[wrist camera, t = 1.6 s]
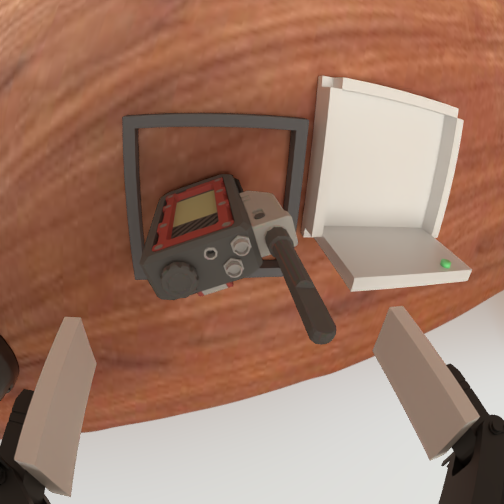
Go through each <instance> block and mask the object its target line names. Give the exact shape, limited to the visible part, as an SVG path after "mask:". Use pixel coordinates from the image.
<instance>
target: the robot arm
mask: <svg viewBox="0 0 504 504" xmlns="http://www.w3.org/2000/svg"><path fill="white" fill-rule="evenodd" d="M373 353H374V354H375V356H376V358H377V360H378V362H379V363H380V365H381V367H382V369H383V371H384V373H385V374H386V376H387V378H388V380H389V382H390V384H391V385H392V387H393V389H394V391H395V392H396V395H397V397H398V398H399V400H400V402H401V404H402V406H403V408H404V410H405V412H406V414H407V416H408V418H409V420H410V421H411V423H412V425H413V427H414V429H415V431H416V433H417V435H418V437H419V439H420V441H421V443H422V445H423V447H424V449H425V451H426V453H427V455H428V458H429V460H433V459H435V458H438V457H440V456H442V455H444V454H445V453H446V452H447V451H448V450H449V449H450V448H451V447H452V449H453V451H454V452H453V453H452V454H451V455H450V456H449V457H448V458H447V459H445V460H444V461H443V463H442V466H444V465H445V464H446V463H447V462H449V464H448V465H447V467H448V471H447V474H446V478H445V482H444V486H443V490H442V494H441V497H440V501H439V504H504V420H503V419H502V418H501V417H499V416H497V415H489V414H488V413H487V412H486V410H485V408H484V407H483V405H482V404H481V402H480V401H479V399H478V397H477V396H476V394H475V393H474V392H473V390H472V389H470V386H469V384H468V383H467V382H466V381H465V378H464V377H463V376H462V374H461V373H460V371H459V370H458V369H456V368H455V367H454V366H453V365H452V364H448V365H446V364H445V363H444V361H443V360H442V358H441V357H440V356H439V354H438V353H437V352H436V350H435V349H434V347H433V346H432V345H431V343H430V342H429V340H428V339H427V338H426V336H425V335H424V333H423V332H422V331H421V329H420V328H419V327H418V325H417V324H416V323H415V321H414V320H413V319H412V317H411V316H410V315H409V313H408V312H407V311H406V309H405V308H404V307H403V306H397V307H389V310H388V313H387V315H386V318H385V321H384V323H383V326H382V328H381V331H380V333H379V336H378V338H377V341H376V343H375V346H374V348H373ZM96 364H97V363H96V361H95V358H94V355H93V352H92V350H91V347H90V344H89V341H88V338H87V335H86V332H85V329H84V326H83V323H82V320H81V317H64V319H63V321H62V324H61V326H60V328H59V330H58V333H57V335H56V337H55V340H54V342H53V344H52V347H51V349H50V352H49V354H48V357H47V359H46V362H45V364H44V367H43V369H42V372H41V375H40V377H39V380H38V383H37V385H36V388H35V391H32V390H26V389H24V390H23V391H22V392H21V393H20V395H19V396H18V397H17V398H16V400H15V403H14V405H13V408H12V413H11V414H10V417H9V422H8V423H7V426H6V429H5V432H4V435H3V439H2V442H1V446H0V504H50V502H49V500H48V499H47V497H46V496H45V495H44V490H45V487H46V488H47V489H48V490H49V491H51V492H52V493H56V494H60V495H65V496H69V497H71V490H72V482H73V475H74V469H75V462H76V456H77V450H78V444H79V439H80V434H81V429H82V424H83V419H84V414H85V409H86V405H87V401H88V396H89V392H90V388H91V384H92V380H93V376H94V372H95V368H96ZM18 374H19V368H18V363H17V360H16V358H15V356H14V354H13V352H12V351H11V349H10V348H9V346H8V345H7V344H6V342H5V341H4V340H3V339H2V337H1V336H0V401H1V400H2V398H3V397H4V395H5V394H6V393H8V392H10V391H11V389H12V388H13V387H14V385H15V382H16V380H17V377H18Z"/></svg>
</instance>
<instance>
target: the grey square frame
mask: <svg viewBox="0 0 504 504" xmlns="http://www.w3.org/2000/svg"><path fill="white" fill-rule="evenodd" d="M122 119H123V158H124V177H125V192H126V205H127V216H128V226H129V236H130V244H131V253H132V260H133V268H134V275H135V280H148V279H147V277H146V276H145V274H144V272H143V269H142V267H141V265H140V259H141V256H142V252H143V249H144V236H143V225H142V212H141V197H140V179H139V152H138V128H153V127H248V128H268V129H283V130H291V139H290V150H289V160H288V170H287V180H286V189H285V199H284V208H283V209H284V211H288V212H289V214H290V215H291V217H292V220H293V224H294V228H295V232H296V228H297V221H298V213H299V205H300V197H301V189H302V180H303V172H304V163H305V154H306V145H307V135H308V126H309V120H308V119H304V118H296V117H285V116H272V115H256V114H233V113H165V114H142V115H127V116H124V117H122ZM262 261H263V263H262V265H261V266H260V268H259V269H257V270H256V271H255V272H254V273H253V274H251V275H250V276H248V277H245V278H251V277H282V276H283V274H282V271H281V269H280V267H279V264H278V262H277V260H262Z"/></svg>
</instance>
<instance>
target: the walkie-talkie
mask: <svg viewBox="0 0 504 504" xmlns="http://www.w3.org/2000/svg"><path fill="white" fill-rule="evenodd" d="M297 244H298V240H297V236H296V232H295V228H294V224H293V220H292V217H291V215H290V214H289V212H288V211H284V209H283V208H282V206H281V205H280V204H279V202H278V201H277V199H276V198H275V196H274V195H273V194H272V193H267V192H257V191H245V192H243V189H242V187H241V185H240V182H239V180H238V179H235V178H233V175H230V174H220V175H217V176H214V177H211V178H208V179H205V180H202V181H199V182H197V183H194V184H191V185H188V186H185V187H182V188H180V189H177V190H174V191H171V192H168V193H167V194H166V195H164V196H163V197H161V199H160V200H159V202H158V205H157V209H156V211H155V214H154V217H153V220H152V223H151V226H150V230H149V233H148V236H147V239H146V242H145V246H144V249H143V252H142V256H141V259H140V265H141V267H142V269H143V272H144V274H145V276H146V277H147V279H148V281H149V283H150V285H151V286H152V288H153V290H154V291H155V293H156V295H157V297H159V298H160V299H166V300H175V299H179V298H186V297H188V296H189V295H192V294H195V293H197V294H198V295H199V296H204V295H207V294H210V293H213V292H216V291H219V290H223V289H226V288H229V287H232V286H233V281H236V280H239V279H242V278H245V277H248V276H250V275H251V274H253V273H254V272H255V271H256V270H257V269H259V268H260V266H261V265H262V263H263V261H262V258H261V257H264V256H268V255H272V256H274V257H276V260H277V262H278V264H279V267H280V269H281V271H282V274H283V276H284V278H285V281H286V283H287V285H288V288H289V290H290V293H291V295H292V297H293V300H294V302H295V305H296V307H297V309H298V312H299V314H300V316H301V319H302V321H303V324H304V326H305V329H306V331H307V333H308V336H309V338H310V340H312V341H313V342H314V343H315V344H327V343H329V342H330V341H332V339H333V338H334V336H335V335H336V325H335V323H334V322H333V320H332V318H331V316H330V314H329V312H328V310H327V308H326V306H325V305H324V303H323V301H322V299H321V297H320V295H319V293H318V291H317V290H316V288H315V286H314V284H313V282H312V280H311V279H310V277H309V275H308V273H307V271H306V269H305V268H304V266H303V264H302V262H301V260H300V259H299V257H298V255H297V253H296V251H295V250H294V247H295V246H297Z"/></svg>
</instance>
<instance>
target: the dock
mask: <svg viewBox="0 0 504 504" xmlns="http://www.w3.org/2000/svg"><path fill="white" fill-rule="evenodd" d="M457 116H458V108H455V107H452V106H450V105H447V104H444V103H441V102H438V101H435V100H432V99H428V98H425V97H422V96H418V95H415V94H412V93H408V92H404V91H401V90H397V89H393V88H389V87H385V86H381V85H377V84H373V83H368V82H364V81H359V80H354V79H349V78H344V77H336V78H333V77H327V76H318V87H317V98H316V109H315V119H314V128H313V138H312V147H311V156H310V164H309V173H308V181H307V189H306V197H305V204H304V212H303V219H302V227H301V234H302V236H303V237H314V239H315V240H316V242H317V243H318V244H319V246H320V247H321V249H322V250H323V251H324V253H325V254H326V256H327V257H328V259H329V260H330V262H331V263H332V264H333V266H334V267H335V269H336V270H337V272H338V273H339V275H340V276H341V278H342V279H343V280H344V282H345V283H346V285H347V286H348V288H349V289H350V291H351V292H352V291H365V290H378V289H390V288H401V287H412V286H423V285H433V284H443V283H452V282H461V281H468V278H469V276H470V273H471V271H472V269H471V268H469V267H468V266H467V265H466V264H465V263H464V262H463V261H461V260H460V259H459V258H458V257H457V256H456V255H454V254H453V253H452V252H451V251H450V250H448V249H447V248H446V247H445V246H444V245H442V244H441V243H440V242H439V241H437V240H436V239H435V238H437V237H438V234H439V231H440V227H441V224H442V220H443V217H444V213H445V209H446V205H447V201H448V197H449V193H450V189H451V185H452V181H453V176H454V172H455V167H456V162H457V157H458V152H459V146H460V140H461V134H462V128H463V121H464V120H461V119H458V118H457Z"/></svg>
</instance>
